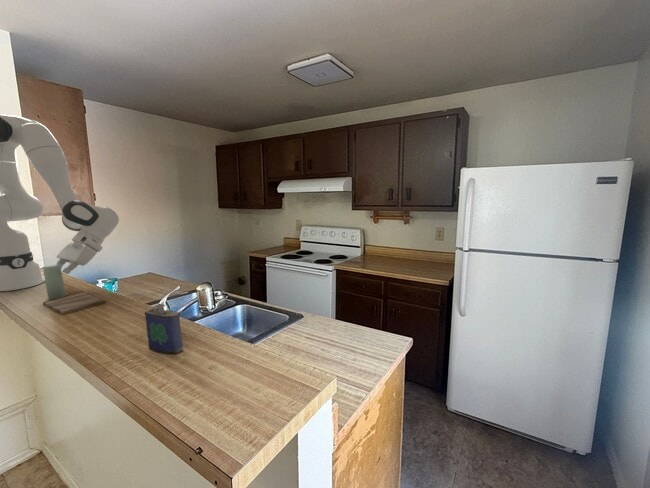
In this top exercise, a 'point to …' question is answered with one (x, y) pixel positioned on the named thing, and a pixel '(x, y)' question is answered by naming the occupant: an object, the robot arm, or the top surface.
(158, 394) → the top surface
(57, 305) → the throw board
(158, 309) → the flask
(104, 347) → the top surface
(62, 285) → the green rectangular block
